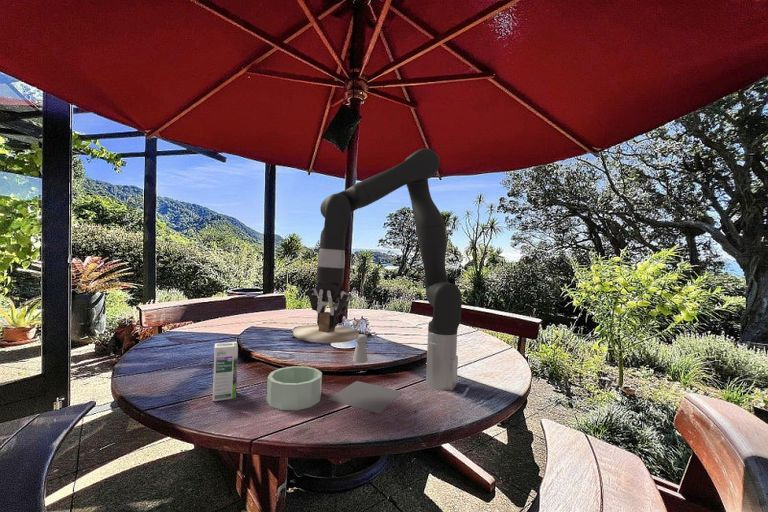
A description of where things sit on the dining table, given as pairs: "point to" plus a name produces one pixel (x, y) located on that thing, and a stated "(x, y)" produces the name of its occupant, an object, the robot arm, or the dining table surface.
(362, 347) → the salt shaker
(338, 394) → the mat
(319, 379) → the bowl
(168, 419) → the dining table surface
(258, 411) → the dining table surface
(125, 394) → the dining table surface
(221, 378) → the syrup box
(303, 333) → the lid
